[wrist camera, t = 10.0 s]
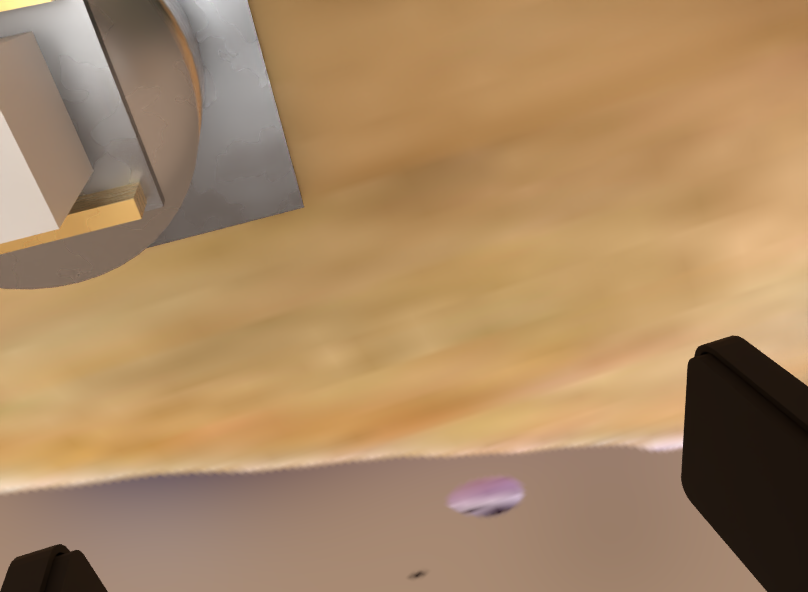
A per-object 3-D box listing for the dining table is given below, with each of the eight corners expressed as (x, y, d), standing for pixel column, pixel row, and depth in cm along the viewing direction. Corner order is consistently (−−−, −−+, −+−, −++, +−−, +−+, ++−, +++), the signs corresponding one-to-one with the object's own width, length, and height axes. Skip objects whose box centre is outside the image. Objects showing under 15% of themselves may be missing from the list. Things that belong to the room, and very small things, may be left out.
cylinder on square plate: (191, -204, 30) (168, -315, 17) (301, 199, 40) (336, 309, 27) (-284, -122, 27) (-700, -184, 15) (-39, 286, 37) (-167, 450, 25)
